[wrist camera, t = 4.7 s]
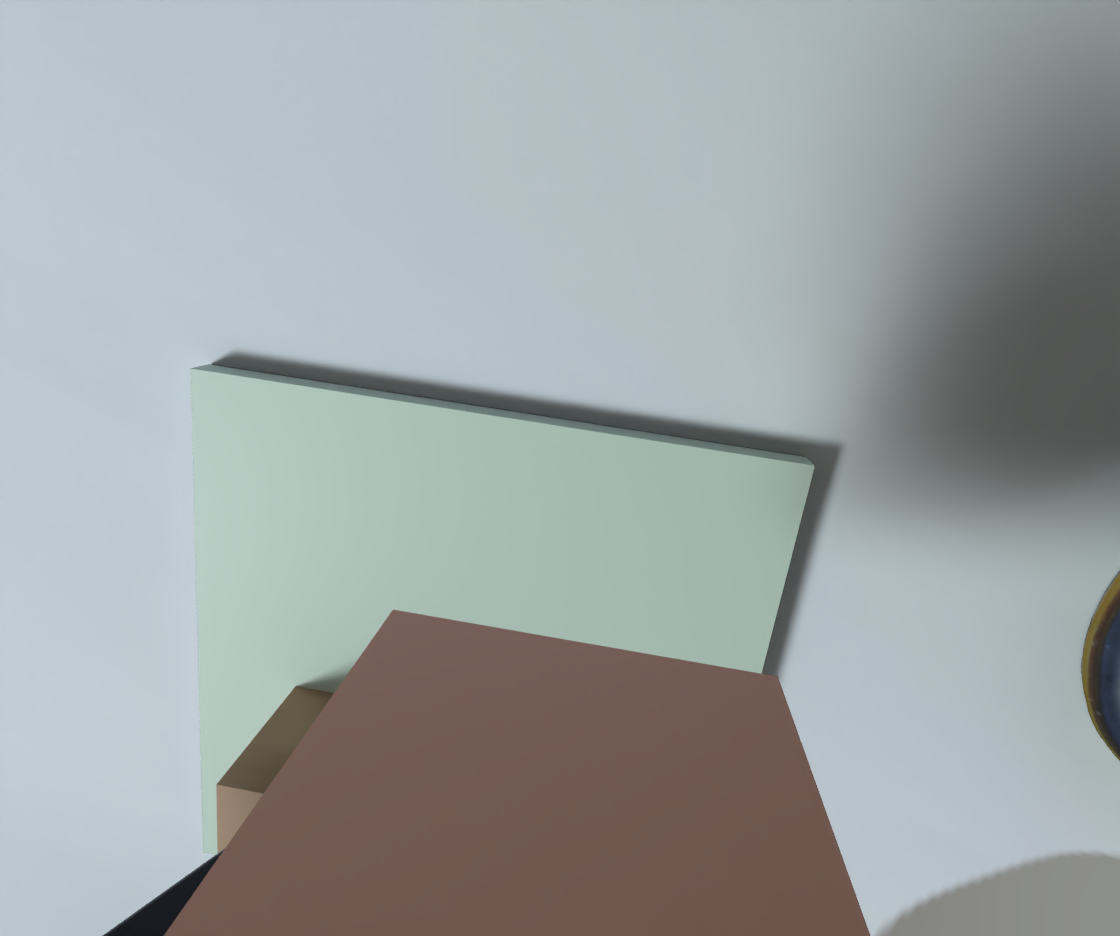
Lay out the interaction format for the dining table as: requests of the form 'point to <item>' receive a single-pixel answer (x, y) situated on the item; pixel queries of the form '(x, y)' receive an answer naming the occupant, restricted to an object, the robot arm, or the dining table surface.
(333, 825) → the pink knobbed block
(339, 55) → the dining table surface
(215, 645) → the board
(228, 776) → the walnut brick
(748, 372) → the dining table surface
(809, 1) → the dining table surface
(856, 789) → the dining table surface
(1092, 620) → the ornate grey vase
